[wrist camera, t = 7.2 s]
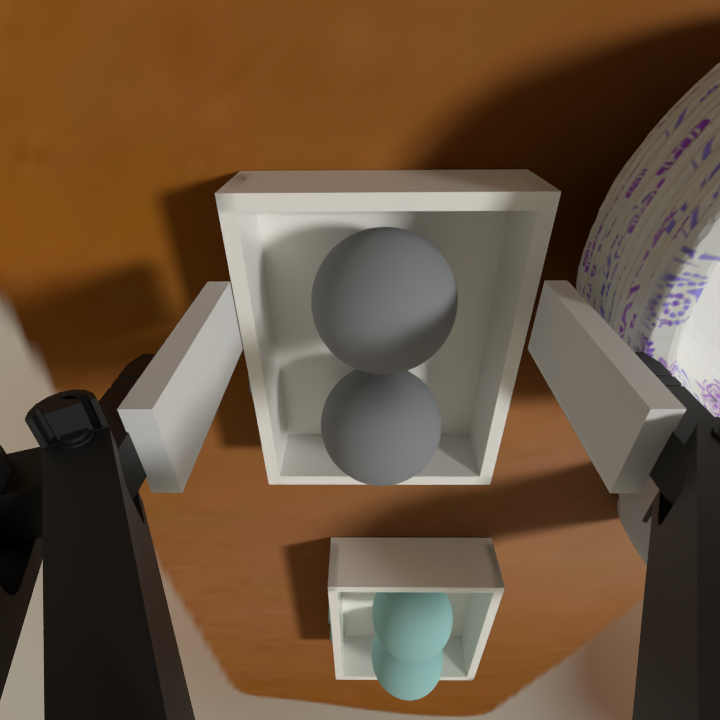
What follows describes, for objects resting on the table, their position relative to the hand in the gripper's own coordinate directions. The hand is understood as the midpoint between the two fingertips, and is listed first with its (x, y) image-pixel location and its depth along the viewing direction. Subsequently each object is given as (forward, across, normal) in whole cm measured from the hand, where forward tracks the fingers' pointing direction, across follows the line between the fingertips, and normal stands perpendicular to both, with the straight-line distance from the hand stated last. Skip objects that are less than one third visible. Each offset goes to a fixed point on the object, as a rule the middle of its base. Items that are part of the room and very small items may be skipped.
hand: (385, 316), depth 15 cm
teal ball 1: (+4, +2, -24) cm, 24 cm away
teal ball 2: (+4, +2, -30) cm, 31 cm away
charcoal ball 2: (+4, 0, -6) cm, 8 cm away
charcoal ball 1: (+4, 0, 0) cm, 4 cm away
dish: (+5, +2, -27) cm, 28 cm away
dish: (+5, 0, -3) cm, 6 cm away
